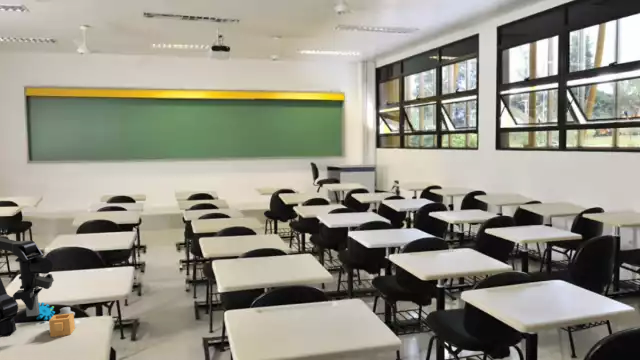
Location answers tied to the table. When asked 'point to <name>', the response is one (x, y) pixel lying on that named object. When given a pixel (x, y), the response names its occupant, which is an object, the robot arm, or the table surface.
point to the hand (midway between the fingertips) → (32, 308)
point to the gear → (45, 311)
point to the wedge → (35, 307)
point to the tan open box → (62, 323)
